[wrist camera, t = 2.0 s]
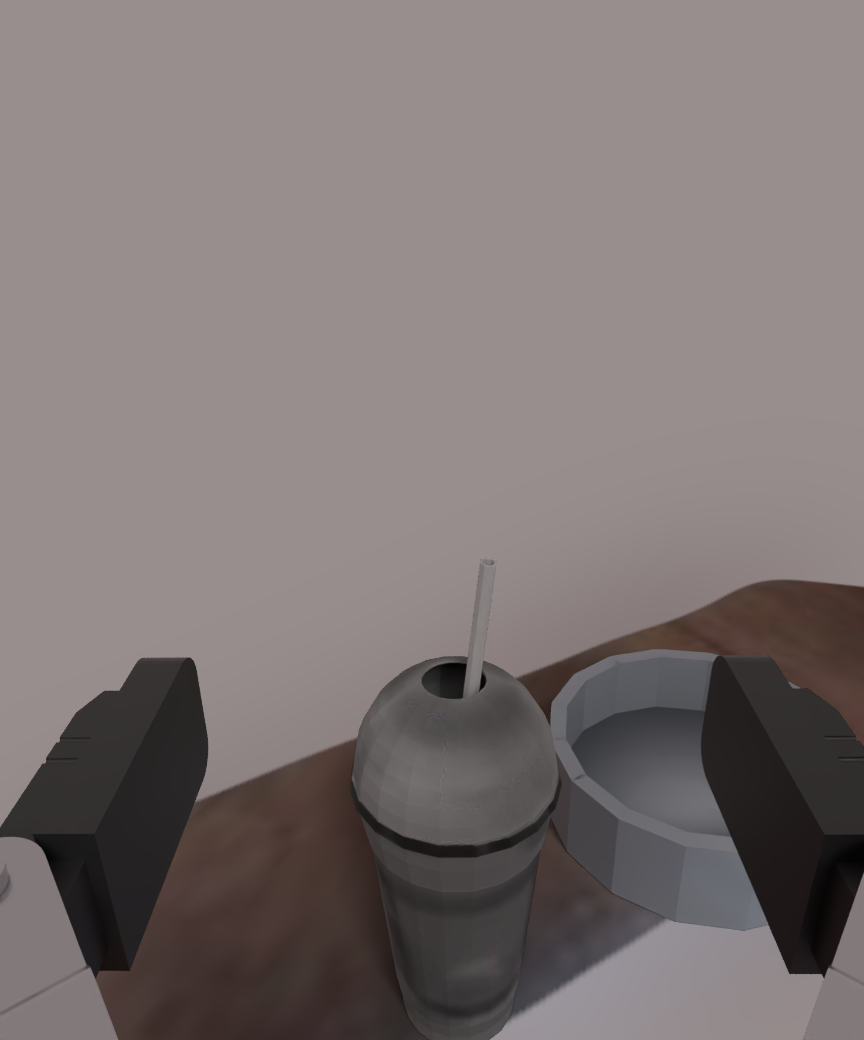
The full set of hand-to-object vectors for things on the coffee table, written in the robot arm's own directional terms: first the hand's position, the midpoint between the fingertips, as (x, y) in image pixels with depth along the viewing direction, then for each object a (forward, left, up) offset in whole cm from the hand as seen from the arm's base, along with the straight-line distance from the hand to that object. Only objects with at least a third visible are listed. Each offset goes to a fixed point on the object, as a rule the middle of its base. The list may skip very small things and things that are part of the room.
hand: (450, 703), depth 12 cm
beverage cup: (+6, -10, -23) cm, 26 cm away
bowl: (+1, -25, -23) cm, 34 cm away
